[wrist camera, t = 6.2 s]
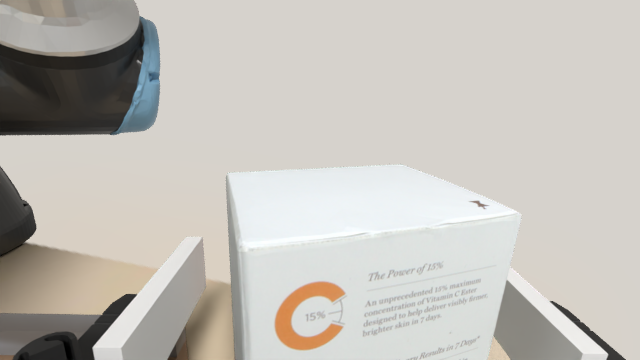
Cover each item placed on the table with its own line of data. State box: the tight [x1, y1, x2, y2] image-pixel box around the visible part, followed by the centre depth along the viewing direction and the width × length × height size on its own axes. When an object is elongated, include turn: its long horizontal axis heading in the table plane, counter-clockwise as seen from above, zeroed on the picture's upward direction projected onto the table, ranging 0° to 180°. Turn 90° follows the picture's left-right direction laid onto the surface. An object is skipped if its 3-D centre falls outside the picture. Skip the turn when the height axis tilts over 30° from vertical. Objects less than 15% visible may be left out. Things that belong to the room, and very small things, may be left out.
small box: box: [226, 164, 522, 360], centre depth 12 cm, size 8×6×13 cm
